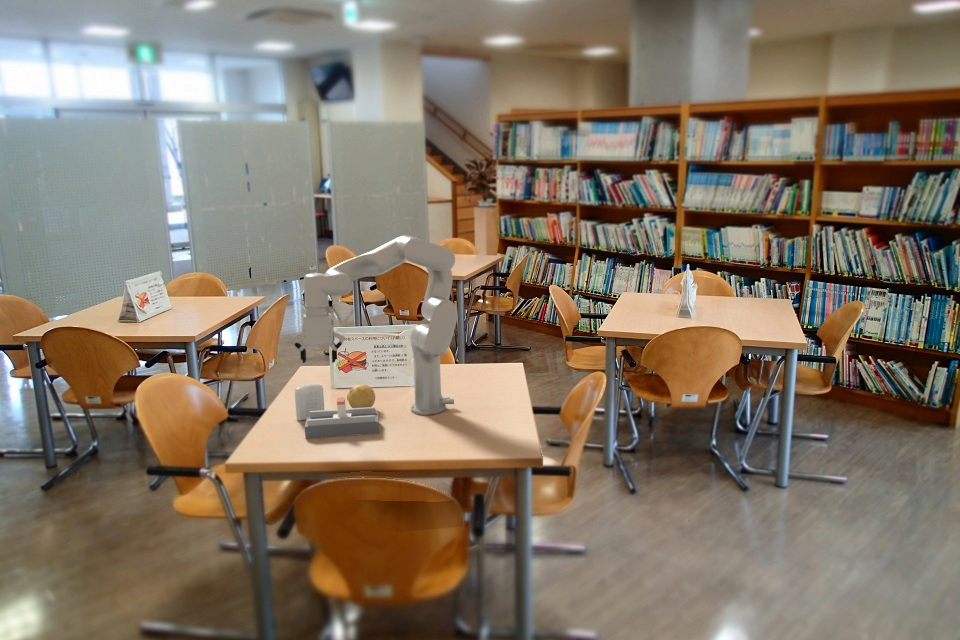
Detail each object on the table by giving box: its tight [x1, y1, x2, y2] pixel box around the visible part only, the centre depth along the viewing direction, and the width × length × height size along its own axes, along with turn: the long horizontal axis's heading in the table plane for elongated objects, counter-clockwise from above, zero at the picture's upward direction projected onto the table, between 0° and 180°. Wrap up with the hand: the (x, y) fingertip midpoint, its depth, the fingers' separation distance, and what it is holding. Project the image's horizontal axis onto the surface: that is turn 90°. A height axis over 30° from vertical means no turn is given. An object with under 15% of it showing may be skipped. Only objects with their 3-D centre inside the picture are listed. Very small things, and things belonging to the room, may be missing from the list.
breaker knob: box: [333, 396, 352, 418], centre depth 244 cm, size 6×6×7 cm
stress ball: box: [346, 383, 376, 408], centre depth 262 cm, size 10×10×10 cm
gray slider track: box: [304, 406, 380, 439], centre depth 245 cm, size 24×10×6 cm, turn 98°
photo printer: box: [294, 382, 325, 421], centre depth 257 cm, size 10×4×12 cm, turn 123°
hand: (319, 361), depth 240 cm, fingers open, 9 cm apart
